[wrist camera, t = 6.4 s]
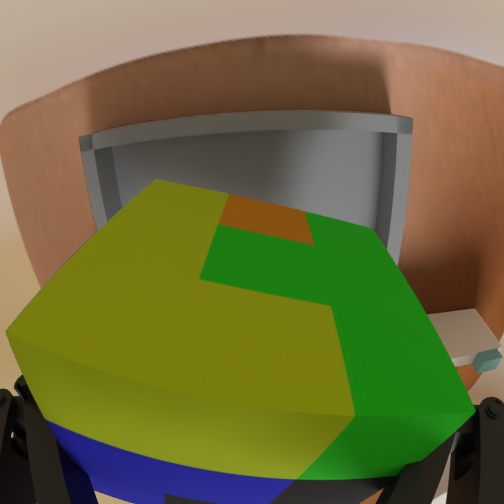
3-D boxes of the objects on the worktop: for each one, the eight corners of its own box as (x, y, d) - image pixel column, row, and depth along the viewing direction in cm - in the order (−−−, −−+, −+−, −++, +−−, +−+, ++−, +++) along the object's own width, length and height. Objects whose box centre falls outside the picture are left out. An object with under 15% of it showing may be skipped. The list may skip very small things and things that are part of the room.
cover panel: (470, 318, 26) (502, 366, 20) (301, 334, 27) (308, 399, 21) (475, 307, 25) (508, 355, 19) (302, 322, 27) (310, 388, 20)
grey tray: (370, 313, 26) (392, 372, 20) (144, 317, 27) (118, 374, 21) (391, 113, 18) (442, 124, 12) (103, 129, 20) (46, 147, 13)
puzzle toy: (146, 341, 18) (91, 489, 9) (155, 179, 13) (5, 331, 4) (306, 372, 19) (317, 525, 10) (372, 228, 14) (475, 411, 5)
